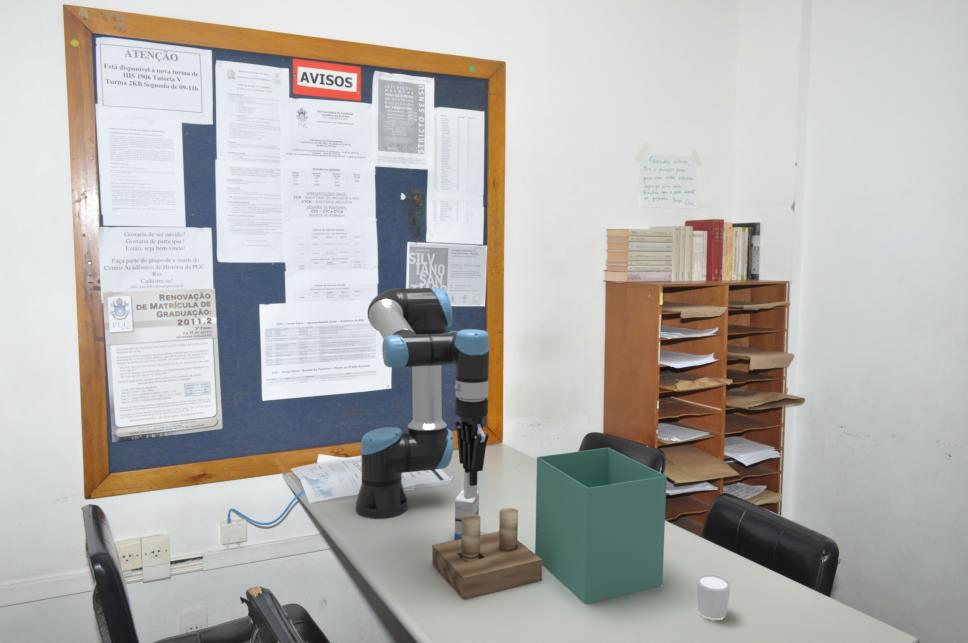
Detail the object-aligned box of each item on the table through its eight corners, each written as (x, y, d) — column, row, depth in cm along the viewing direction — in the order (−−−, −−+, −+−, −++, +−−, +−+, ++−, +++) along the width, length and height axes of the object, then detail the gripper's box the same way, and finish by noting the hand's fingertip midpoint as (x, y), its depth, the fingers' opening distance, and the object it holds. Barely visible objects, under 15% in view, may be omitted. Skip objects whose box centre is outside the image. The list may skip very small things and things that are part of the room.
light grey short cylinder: (689, 605, 145) (691, 574, 144) (720, 604, 145) (722, 573, 145) (702, 623, 138) (704, 591, 137) (734, 622, 139) (736, 590, 138)
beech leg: (457, 572, 158) (458, 515, 157) (474, 568, 160) (475, 512, 159) (465, 581, 154) (466, 522, 153) (482, 577, 156) (483, 519, 155)
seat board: (432, 564, 162) (432, 509, 161) (504, 548, 171) (505, 496, 170) (463, 599, 146) (463, 538, 145) (541, 580, 155) (542, 522, 154)
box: (535, 558, 166) (536, 456, 164) (605, 544, 175) (608, 447, 172) (584, 604, 145) (587, 488, 142) (662, 585, 153) (666, 476, 150)
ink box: (472, 546, 173) (472, 501, 172) (453, 544, 174) (454, 500, 173) (479, 532, 181) (479, 490, 180) (461, 530, 182) (461, 488, 181)
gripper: (445, 393, 157) (444, 490, 160) (469, 406, 145) (467, 510, 148) (474, 390, 160) (472, 485, 163) (499, 402, 148) (497, 504, 151)
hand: (470, 497), depth 155 cm, fingers closed
